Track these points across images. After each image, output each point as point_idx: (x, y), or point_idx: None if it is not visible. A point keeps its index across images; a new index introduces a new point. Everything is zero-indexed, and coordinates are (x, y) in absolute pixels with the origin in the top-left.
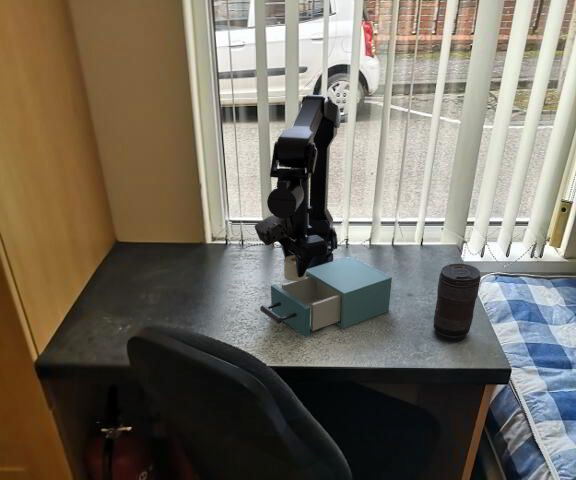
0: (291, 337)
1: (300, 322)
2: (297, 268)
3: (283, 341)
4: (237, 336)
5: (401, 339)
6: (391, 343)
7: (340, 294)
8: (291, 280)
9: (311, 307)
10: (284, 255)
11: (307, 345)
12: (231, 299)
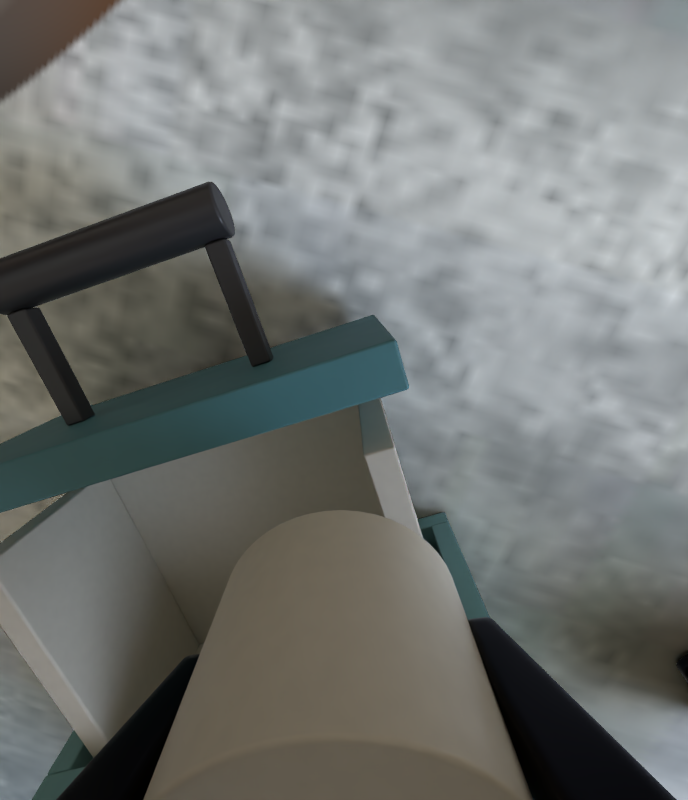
0: (119, 352)
1: (53, 426)
2: (90, 790)
3: (84, 300)
4: (183, 24)
5: (44, 736)
6: (18, 701)
7: (82, 767)
8: (243, 555)
9: (6, 546)
10: (624, 792)
11: (32, 405)
12: (684, 103)
